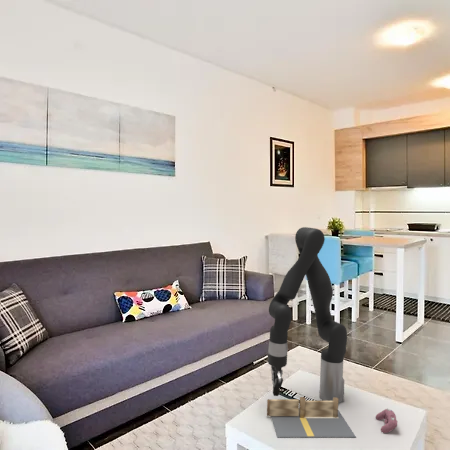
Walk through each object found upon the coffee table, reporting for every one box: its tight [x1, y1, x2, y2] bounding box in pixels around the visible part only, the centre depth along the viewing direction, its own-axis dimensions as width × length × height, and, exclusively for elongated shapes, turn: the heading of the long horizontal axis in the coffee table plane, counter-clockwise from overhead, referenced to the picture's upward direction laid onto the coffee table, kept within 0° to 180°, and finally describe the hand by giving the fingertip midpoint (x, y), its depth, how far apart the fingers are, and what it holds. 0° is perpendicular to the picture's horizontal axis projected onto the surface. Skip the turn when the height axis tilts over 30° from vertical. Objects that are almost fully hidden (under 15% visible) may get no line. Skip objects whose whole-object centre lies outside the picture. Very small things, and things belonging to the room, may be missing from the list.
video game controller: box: [375, 408, 398, 434], centre depth 135 cm, size 10×5×7 cm, turn 169°
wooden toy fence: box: [299, 396, 339, 418], centre depth 139 cm, size 15×2×8 cm, turn 93°
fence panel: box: [266, 398, 300, 417], centre depth 139 cm, size 12×1×6 cm, turn 93°
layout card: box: [270, 409, 357, 439], centre depth 136 cm, size 28×18×1 cm, turn 93°
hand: (275, 394), depth 144 cm, fingers closed
